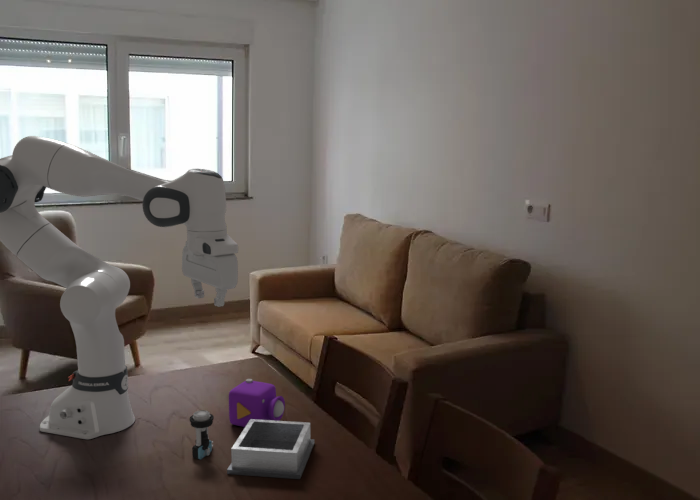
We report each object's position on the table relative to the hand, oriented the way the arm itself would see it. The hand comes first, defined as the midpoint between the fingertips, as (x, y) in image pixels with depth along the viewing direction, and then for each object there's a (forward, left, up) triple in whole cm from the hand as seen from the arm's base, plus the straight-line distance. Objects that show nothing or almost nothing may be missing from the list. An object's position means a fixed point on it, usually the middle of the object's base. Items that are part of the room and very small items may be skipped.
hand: (209, 301), depth 158 cm
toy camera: (+8, +12, -35) cm, 38 cm away
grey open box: (+16, -6, -34) cm, 38 cm away
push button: (0, -6, -35) cm, 35 cm away
